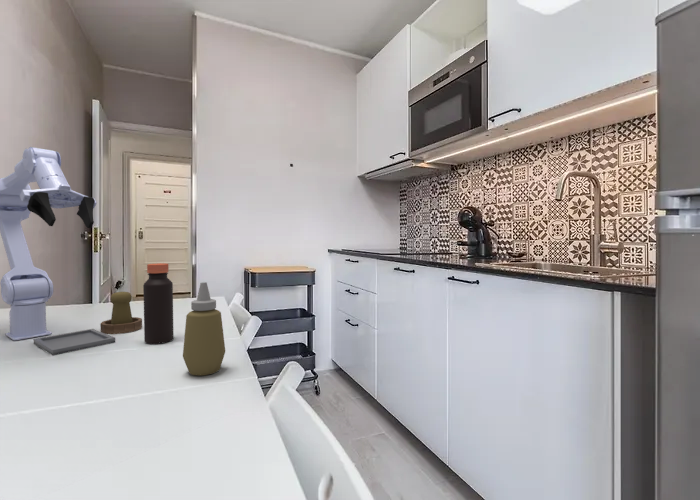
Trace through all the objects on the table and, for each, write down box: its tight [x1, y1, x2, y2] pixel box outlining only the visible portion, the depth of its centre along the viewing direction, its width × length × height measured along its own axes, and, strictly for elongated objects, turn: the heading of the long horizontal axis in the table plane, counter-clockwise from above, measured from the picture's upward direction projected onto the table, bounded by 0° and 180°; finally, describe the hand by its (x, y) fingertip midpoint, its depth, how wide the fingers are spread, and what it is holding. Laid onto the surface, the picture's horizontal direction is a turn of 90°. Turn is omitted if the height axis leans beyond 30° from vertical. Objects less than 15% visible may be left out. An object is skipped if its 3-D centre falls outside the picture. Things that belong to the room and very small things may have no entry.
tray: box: [33, 328, 116, 356], centre depth 95 cm, size 15×13×1 cm
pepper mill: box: [110, 291, 133, 325], centre depth 108 cm, size 6×6×11 cm
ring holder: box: [99, 316, 143, 335], centre depth 108 cm, size 10×10×2 cm
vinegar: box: [142, 262, 175, 345], centre depth 96 cm, size 7×7×20 cm
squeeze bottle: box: [182, 281, 226, 377], centre depth 75 cm, size 8×8×18 cm
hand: (72, 224), depth 85 cm, fingers open, 7 cm apart
